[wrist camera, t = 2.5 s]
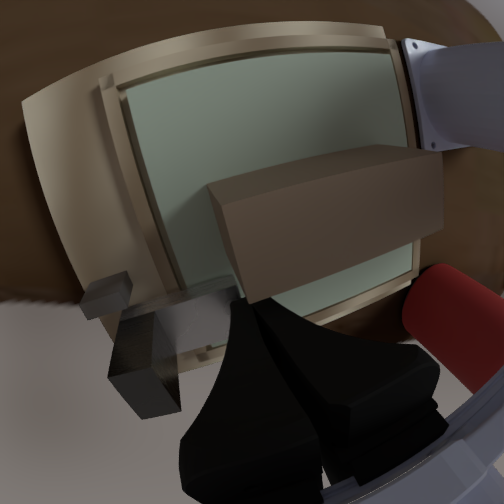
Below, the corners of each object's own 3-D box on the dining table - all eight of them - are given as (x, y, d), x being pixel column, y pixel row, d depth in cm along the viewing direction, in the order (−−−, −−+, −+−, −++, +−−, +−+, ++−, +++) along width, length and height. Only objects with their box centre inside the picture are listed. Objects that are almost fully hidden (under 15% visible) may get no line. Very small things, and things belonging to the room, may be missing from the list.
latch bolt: (232, 273, 12) (259, 334, 8) (246, 318, 13) (274, 383, 9) (122, 308, 11) (107, 377, 8) (145, 349, 12) (141, 419, 8)
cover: (378, 57, 11) (450, 41, 7) (401, 262, 16) (458, 301, 12) (130, 94, 9) (98, 62, 5) (209, 335, 14) (227, 410, 10)
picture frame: (362, 34, 12) (406, 18, 9) (393, 271, 19) (430, 298, 15) (39, 105, 10) (-1, 97, 6) (142, 360, 16) (139, 408, 13)
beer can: (442, 312, 23) (526, 382, 12) (393, 339, 22) (481, 432, 11) (453, 251, 20) (560, 316, 9) (401, 273, 19) (524, 367, 8)
